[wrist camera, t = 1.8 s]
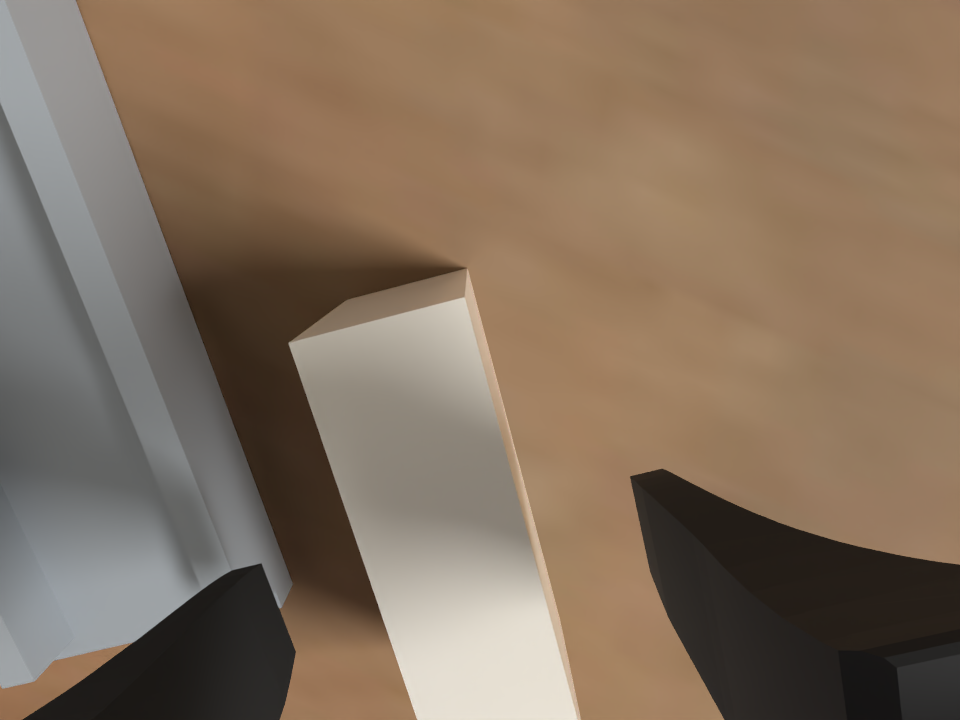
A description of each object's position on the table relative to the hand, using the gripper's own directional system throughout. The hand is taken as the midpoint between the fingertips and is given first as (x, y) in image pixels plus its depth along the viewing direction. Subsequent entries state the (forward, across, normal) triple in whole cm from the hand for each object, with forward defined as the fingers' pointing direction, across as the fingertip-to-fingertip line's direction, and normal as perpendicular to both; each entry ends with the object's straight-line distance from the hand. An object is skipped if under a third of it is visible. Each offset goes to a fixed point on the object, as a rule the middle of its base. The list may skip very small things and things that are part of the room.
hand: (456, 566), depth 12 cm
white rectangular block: (+5, 0, 0) cm, 5 cm away
